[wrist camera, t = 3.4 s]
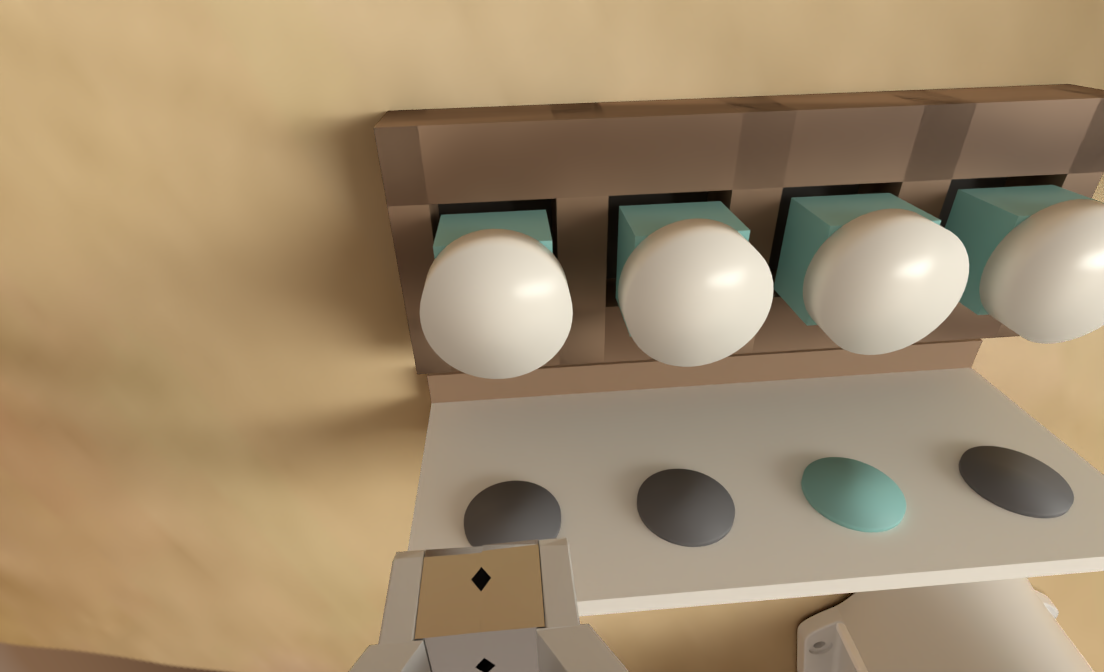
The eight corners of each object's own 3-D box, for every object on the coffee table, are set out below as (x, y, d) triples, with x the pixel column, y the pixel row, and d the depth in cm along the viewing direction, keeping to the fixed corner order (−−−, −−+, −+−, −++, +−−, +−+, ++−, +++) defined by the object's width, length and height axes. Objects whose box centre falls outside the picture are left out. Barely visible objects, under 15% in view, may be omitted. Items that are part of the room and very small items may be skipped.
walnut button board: (979, 304, 28) (1026, 335, 26) (425, 337, 27) (417, 374, 24) (1068, 84, 23) (1139, 96, 21) (388, 111, 22) (373, 127, 19)
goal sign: (942, 393, 31) (1158, 592, 21) (439, 428, 30) (408, 659, 20) (968, 330, 29) (1221, 516, 19) (429, 363, 28) (388, 585, 18)
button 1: (1021, 284, 24) (1115, 339, 21) (911, 291, 24) (987, 347, 20) (1071, 171, 22) (1189, 209, 18) (949, 177, 22) (1044, 216, 18)
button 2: (872, 293, 24) (941, 350, 20) (759, 300, 24) (808, 359, 20) (906, 178, 22) (991, 219, 18) (780, 184, 21) (840, 227, 18)
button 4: (561, 312, 23) (573, 374, 20) (441, 318, 23) (430, 383, 19) (559, 195, 21) (572, 241, 17) (424, 201, 21) (408, 249, 17)
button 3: (719, 302, 24) (760, 362, 20) (602, 309, 23) (622, 371, 20) (735, 187, 21) (786, 230, 17) (605, 193, 21) (629, 238, 17)
